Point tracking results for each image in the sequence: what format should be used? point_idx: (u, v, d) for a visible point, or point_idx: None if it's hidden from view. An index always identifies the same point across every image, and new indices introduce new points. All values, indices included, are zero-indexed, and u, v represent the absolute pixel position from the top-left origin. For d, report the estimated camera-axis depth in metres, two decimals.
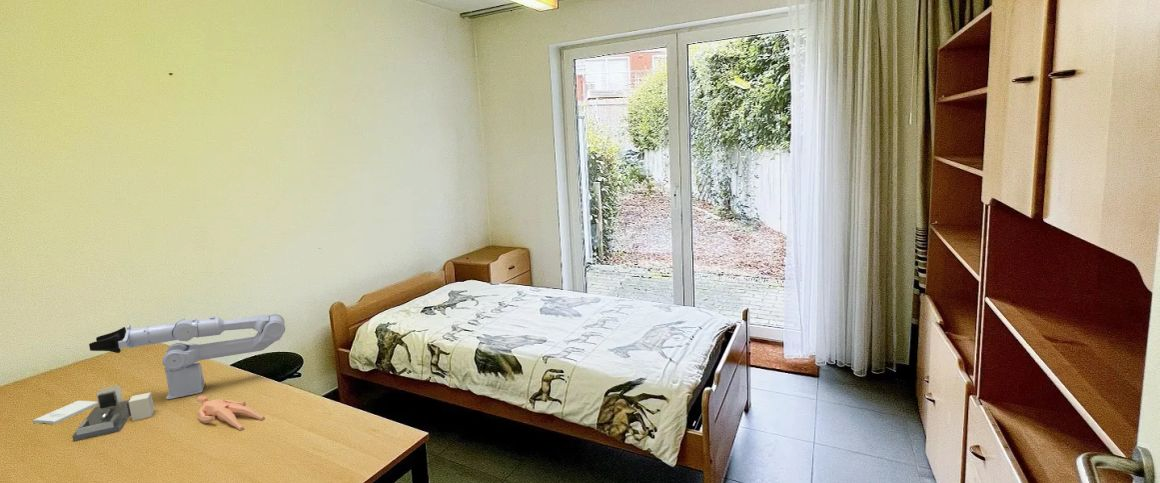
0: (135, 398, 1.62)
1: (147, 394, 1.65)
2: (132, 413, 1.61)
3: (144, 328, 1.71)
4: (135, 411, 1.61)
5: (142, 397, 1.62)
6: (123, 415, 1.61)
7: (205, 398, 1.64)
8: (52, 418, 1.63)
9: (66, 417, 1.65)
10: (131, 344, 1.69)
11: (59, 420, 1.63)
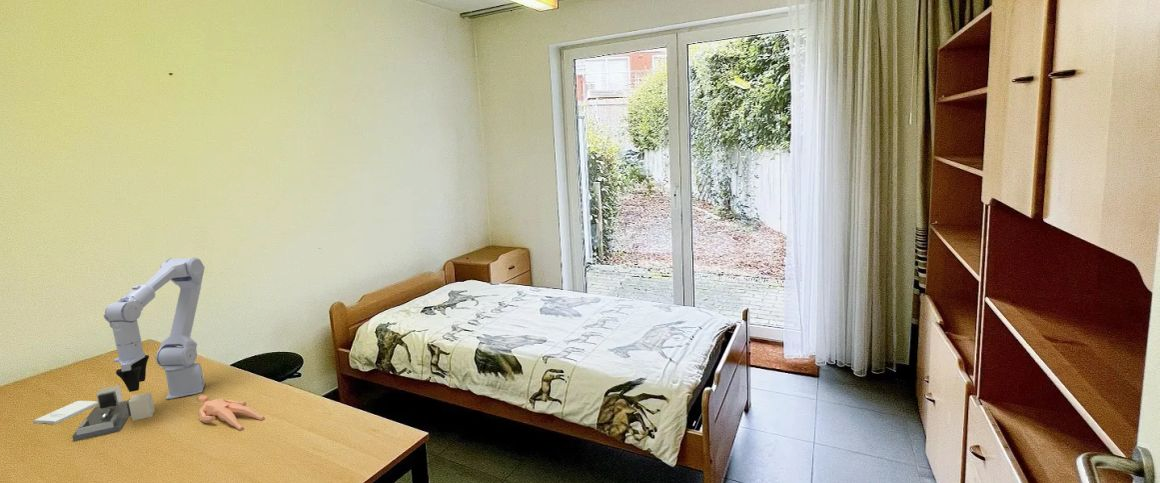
0: (135, 398, 1.62)
1: (147, 394, 1.65)
2: (132, 413, 1.61)
3: (116, 347, 1.58)
4: (135, 411, 1.61)
5: (142, 397, 1.62)
6: (123, 415, 1.61)
7: (206, 398, 1.64)
8: (53, 418, 1.63)
9: (67, 417, 1.65)
10: (135, 357, 1.59)
11: (60, 420, 1.63)
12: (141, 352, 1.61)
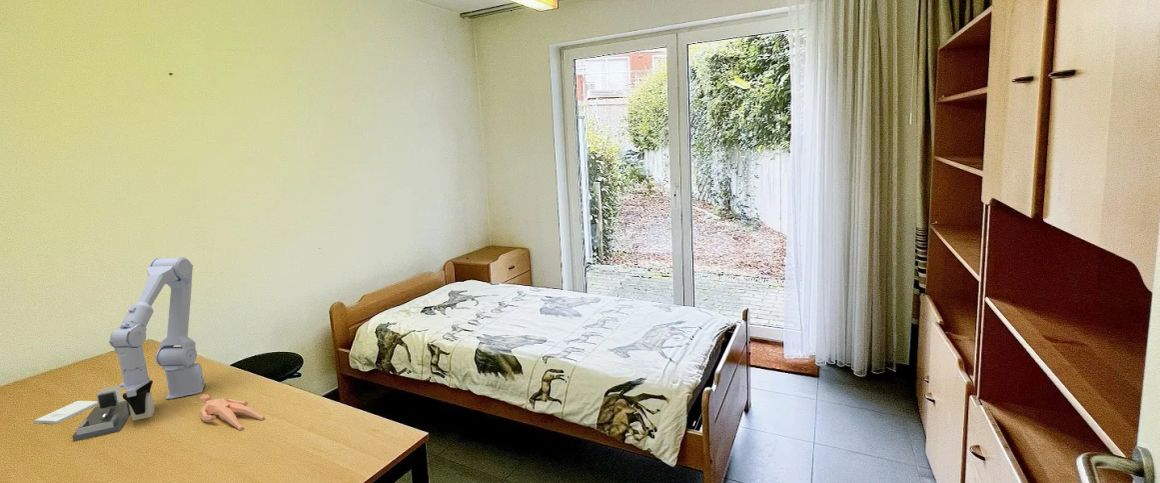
0: None
1: (147, 394, 1.65)
2: (132, 413, 1.61)
3: (122, 372, 1.59)
4: None
5: None
6: (123, 415, 1.61)
7: (208, 397, 1.65)
8: (53, 418, 1.63)
9: (67, 417, 1.65)
10: (140, 382, 1.61)
11: (61, 420, 1.63)
12: (146, 377, 1.62)
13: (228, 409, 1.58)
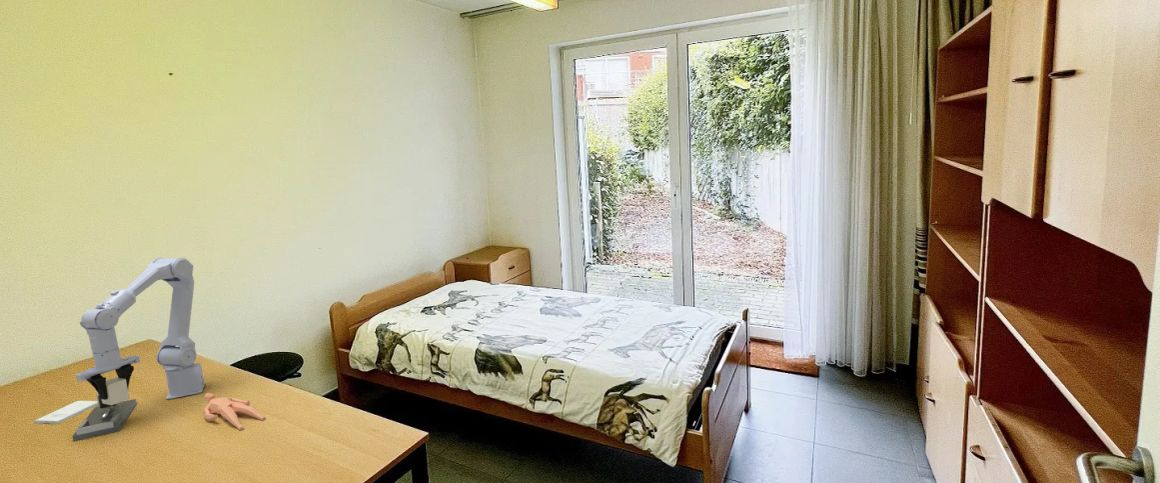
0: (108, 381, 1.58)
1: (119, 380, 1.58)
2: None
3: None
4: None
5: (109, 383, 1.56)
6: (123, 415, 1.61)
7: (212, 396, 1.65)
8: (55, 418, 1.63)
9: (69, 417, 1.65)
10: (101, 368, 1.54)
11: (62, 420, 1.63)
12: (109, 363, 1.55)
13: (230, 408, 1.58)
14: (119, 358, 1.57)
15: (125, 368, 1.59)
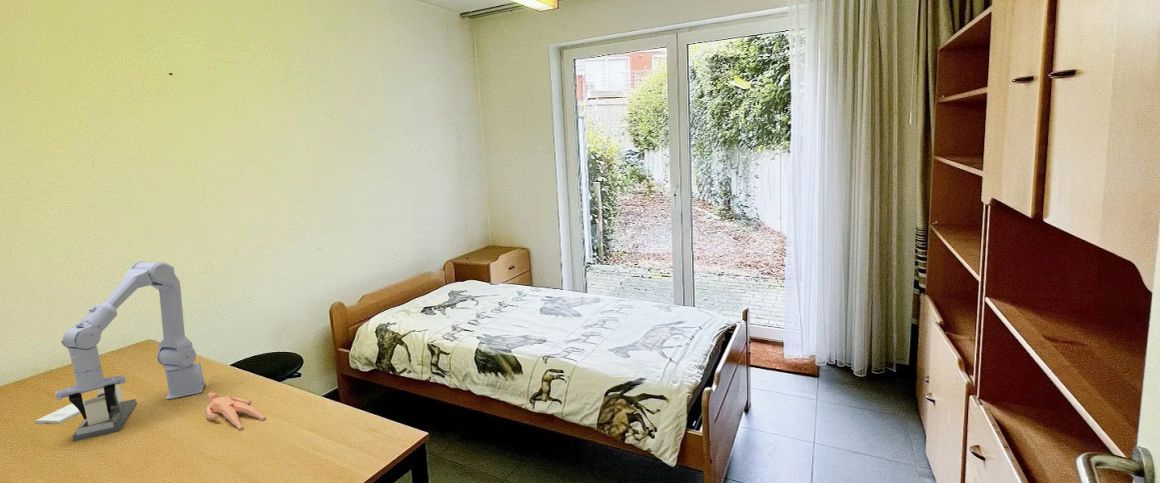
0: (92, 400, 1.55)
1: (99, 401, 1.54)
2: None
3: None
4: None
5: (89, 402, 1.54)
6: (123, 415, 1.61)
7: (214, 395, 1.66)
8: (55, 418, 1.63)
9: (69, 417, 1.65)
10: (79, 387, 1.51)
11: (63, 420, 1.63)
12: (85, 384, 1.51)
13: (231, 408, 1.58)
14: (98, 379, 1.54)
15: (106, 389, 1.55)
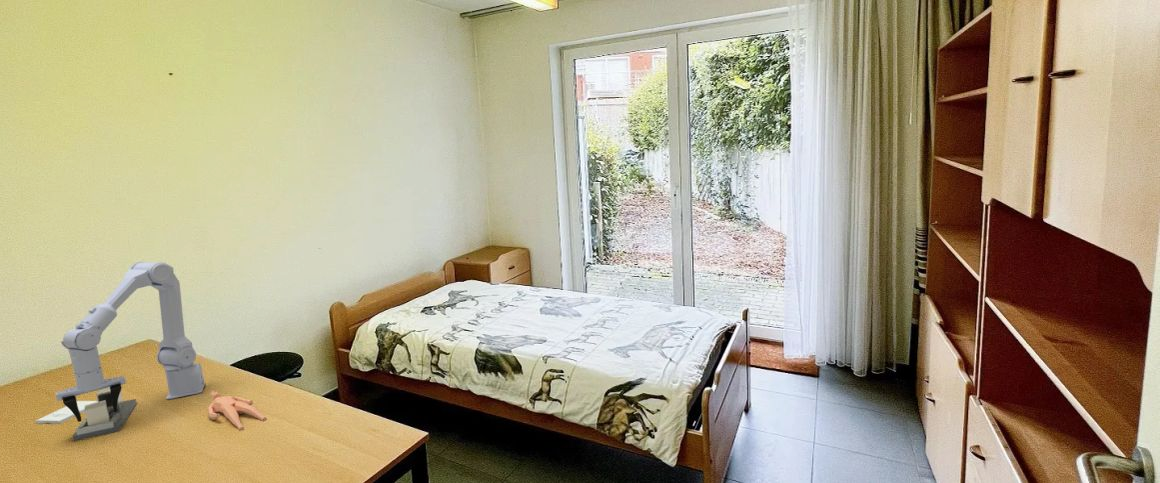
0: (92, 404, 1.56)
1: (99, 405, 1.55)
2: None
3: None
4: None
5: (89, 407, 1.54)
6: (123, 415, 1.61)
7: (217, 394, 1.66)
8: (56, 418, 1.63)
9: (70, 416, 1.65)
10: (79, 388, 1.51)
11: (64, 419, 1.63)
12: (86, 385, 1.51)
13: (232, 408, 1.58)
14: (98, 380, 1.54)
15: (112, 388, 1.56)
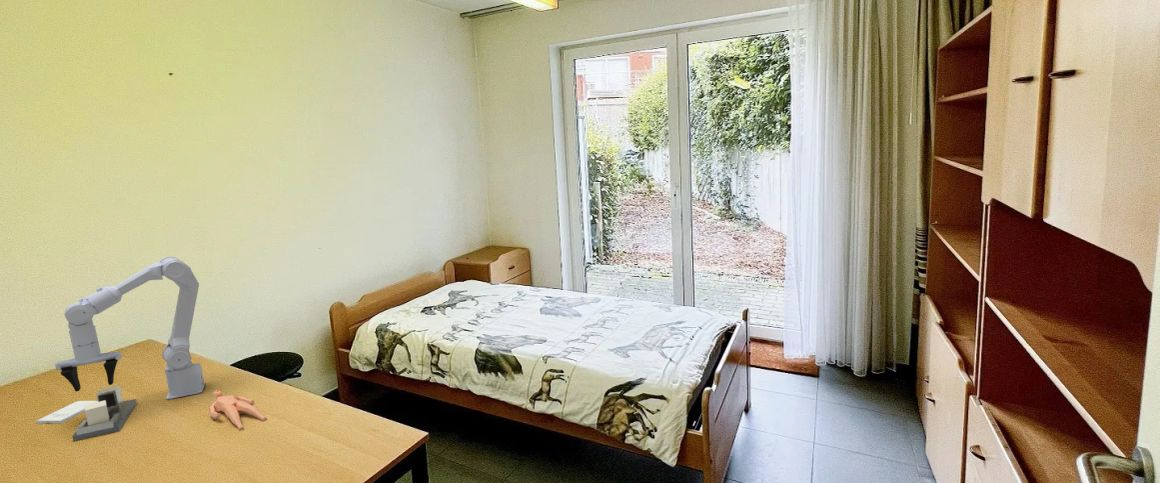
0: (92, 404, 1.56)
1: (99, 405, 1.55)
2: None
3: None
4: None
5: (89, 407, 1.54)
6: (123, 415, 1.61)
7: (219, 393, 1.67)
8: (57, 418, 1.63)
9: (71, 416, 1.65)
10: (75, 360, 1.59)
11: (65, 419, 1.63)
12: (80, 358, 1.59)
13: (233, 407, 1.59)
14: (93, 353, 1.61)
15: (106, 363, 1.62)
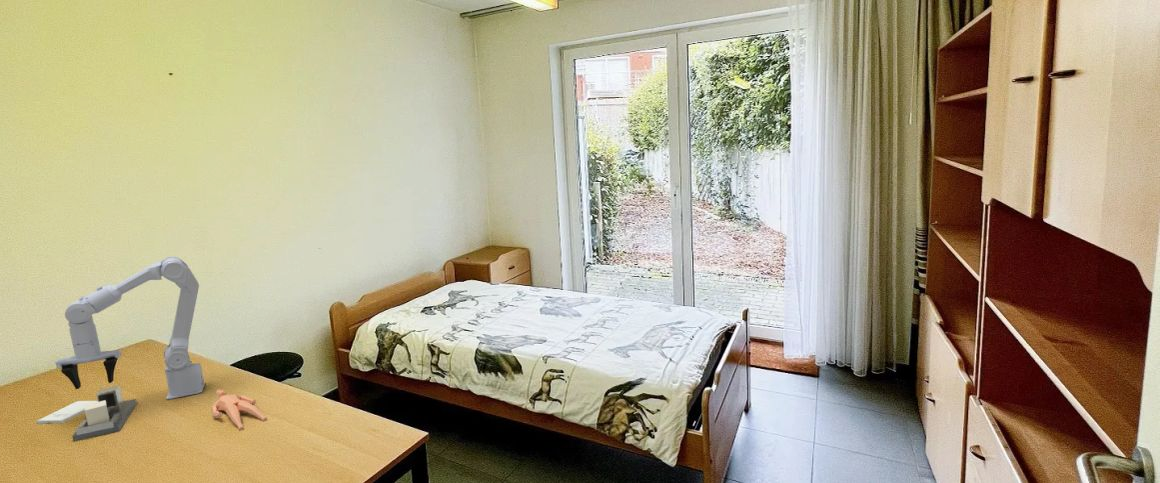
0: (92, 404, 1.56)
1: (99, 405, 1.55)
2: None
3: None
4: None
5: (89, 407, 1.54)
6: (123, 415, 1.61)
7: (222, 392, 1.67)
8: (58, 418, 1.63)
9: (72, 416, 1.65)
10: (76, 358, 1.61)
11: (66, 419, 1.63)
12: (80, 356, 1.60)
13: (234, 407, 1.59)
14: (93, 352, 1.62)
15: (106, 361, 1.64)
